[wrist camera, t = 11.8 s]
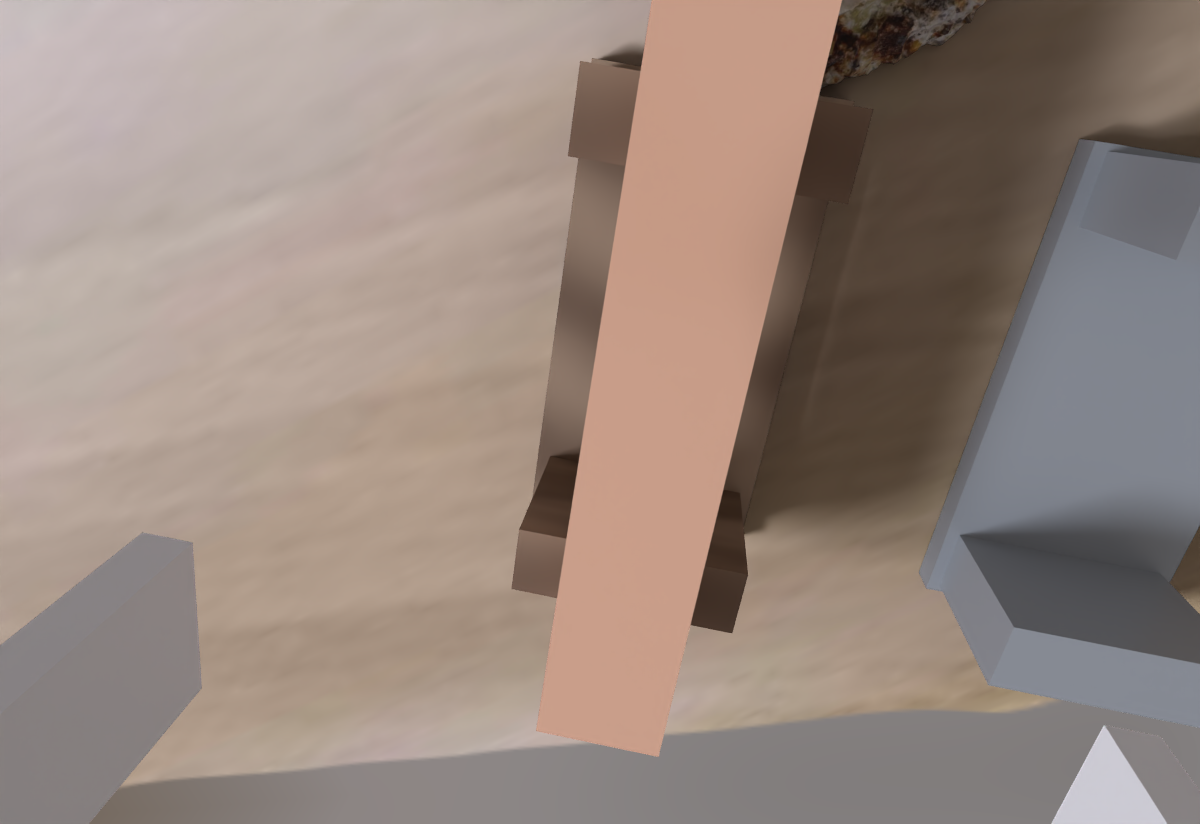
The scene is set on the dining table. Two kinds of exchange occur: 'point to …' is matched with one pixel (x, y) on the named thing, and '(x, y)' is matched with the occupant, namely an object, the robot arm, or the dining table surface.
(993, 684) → the stand
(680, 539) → the salmon pink square bar
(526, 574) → the bronze cradle base
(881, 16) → the mineral rock
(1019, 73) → the dining table surface
